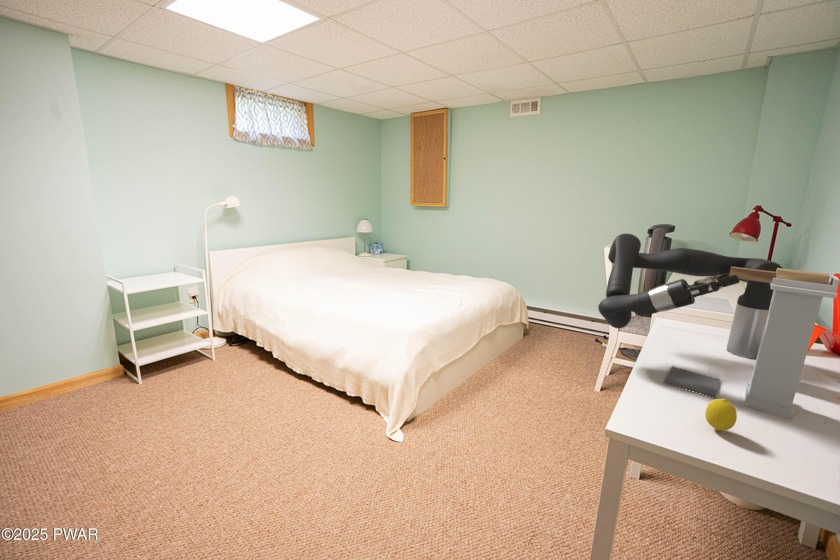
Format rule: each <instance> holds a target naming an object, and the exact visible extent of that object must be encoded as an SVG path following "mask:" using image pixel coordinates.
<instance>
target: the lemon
mask: <svg viewBox="0 0 840 560" xmlns="http://www.w3.org/2000/svg"><path fill="white" fill-rule="evenodd" d="M704 415H705V420H706V421H707V423H708V424H709V425H710V426H711V427H712V428H713V429H714V430H715V431H717V432H720V431H728V430H731V429H732V428H733V427H734V426H735V424H736V422H737V415H738V414H737V410H736V407H735V406H734V405H733V404H732V402H730V401H728V400H727V399H726V398H716V399H715V398H714V399H713V400H711V401H710V402H709V403H708V404H707V406H706V409H705V413H704Z"/></svg>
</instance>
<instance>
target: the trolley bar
mask: <svg viewBox="0 0 840 560" xmlns="http://www.w3.org/2000/svg"><path fill="white" fill-rule="evenodd" d="M732 275H737V276H738V278H739V279H745V280H752V281H760V282H767V283H772V280H773V278H778V279H786V280H794V281H802V282H810V283H818V284H826V285H828V283H829V281H830V278H831V275H829V273H824V272H823V273H822V272H815V271H805V270H797V269H789V268H783V269H781V268H777V271H776V272H773V271H765V270H756V269H748V268H739V267H731V269H730V273H729V276H732Z"/></svg>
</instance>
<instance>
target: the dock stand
mask: <svg viewBox="0 0 840 560" xmlns="http://www.w3.org/2000/svg"><path fill="white" fill-rule="evenodd" d="M839 284H840V279H839V278H838V277H837V276H835V275H830V279H829V283H828V285H826V284H818V283H810V282H802V281H794V280H786V279H778V278H773V280H772V283H770V286H771V289H772V290H774V291H773V295H772V299H771V303H770V307H769V311H768V315H767V319H766V323H765V327H764V331H763V335H762V339H761V343H760V347H759V351H758V355H757V358H755V362H754V363H755V364H754V366H753V367H754V368H753V372H752V375H751V379H750V382H749V383H747V384H746V389H745V397H744V406H746V407H751V408H754V409H757V410H761V411H764V412H766V413H767V412H768V413H771V414H774V415H777V416H780V417H783V418H787V419H791V420H793V419H794V415H795V408H794V407H795V406H794V400H795V396H796V393H797V391H798V390H797V389H798V386H799V382H800V378H801V375H802V371H803V367H804V364H805V361H806V357H807V354H808V350H809V347H810V343H811V339H812V335H813V333H814V329H815V326H816V322H817V318H818V315H819V311H820V308H821V305H822V302H823V297H824V298H831V299H837V297H838V293H837V291H838V288H839Z"/></svg>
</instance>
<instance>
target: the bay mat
mask: <svg viewBox="0 0 840 560" xmlns="http://www.w3.org/2000/svg"><path fill="white" fill-rule="evenodd" d="M720 380H721V379H720V378H717V377H712V376H709V375H706V374H702V373H697V372H694V371H691V370H686V369H684V368H680V367H676V366H671V367H670V369H669V371H668V373H667V375H666V377H665V378H664V381H663V384H665V383H666V385H669V386H671V387H675V386H677V387H676V388H678V387H680V388H679V389H682V388H683V390H685V389H687V390H686V391H688V390H690V391H689V392H692V391H694V392H693V393H695V392H697V393H696V394H698V393H701V394H700V395H702V394H704V395H703V396H705V395H707V397H708V396H710V397H709V398H712V397H713V398H712V399H714V400H715V399H717V393H718V390H719V385H720Z"/></svg>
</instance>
